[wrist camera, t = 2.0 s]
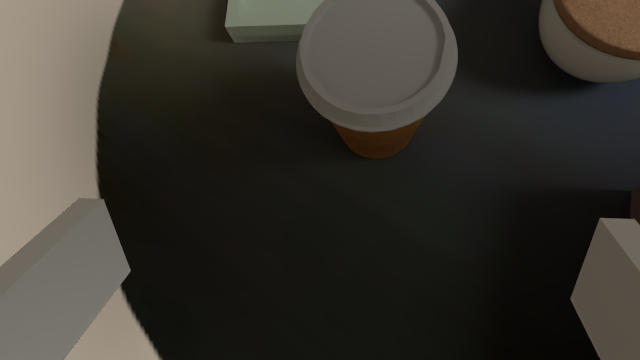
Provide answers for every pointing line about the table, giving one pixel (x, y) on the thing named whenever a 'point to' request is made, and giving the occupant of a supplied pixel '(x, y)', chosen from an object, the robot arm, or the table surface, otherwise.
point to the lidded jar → (593, 38)
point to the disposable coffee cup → (376, 68)
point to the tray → (268, 19)
